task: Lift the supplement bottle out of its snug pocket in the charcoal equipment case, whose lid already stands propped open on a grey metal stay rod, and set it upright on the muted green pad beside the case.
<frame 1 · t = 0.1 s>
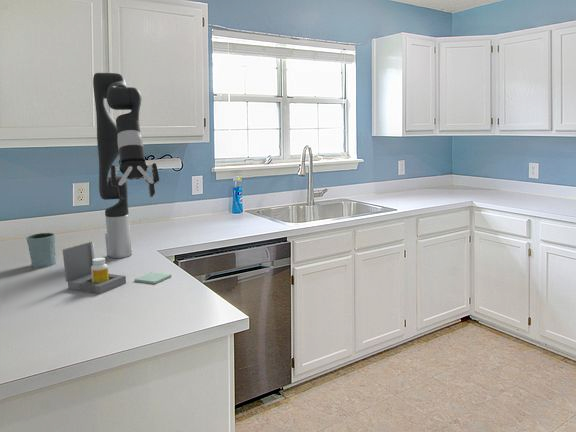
hand: (137, 197, 152), 31 cm above the worktop, tool tilted 20°, fingers open, 8 cm apart
supplement bottle: (101, 287, 167), resting in equipment case
teal cup: (44, 265, 196), on the worktop
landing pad: (153, 278, 174), on the worktop
equipment case: (97, 285, 168), on the worktop
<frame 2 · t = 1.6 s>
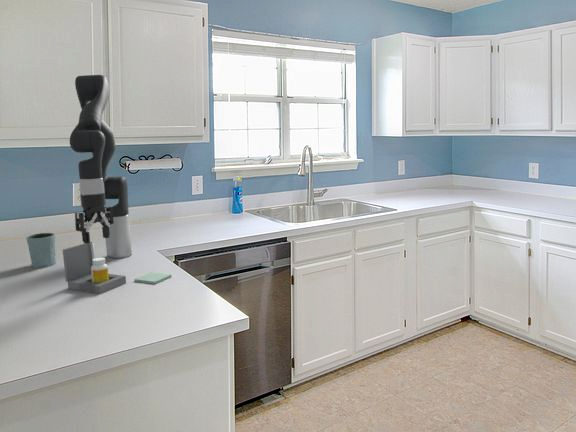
hand: (96, 240, 164), 16 cm above the worktop, tool pointing down, fingers open, 8 cm apart
nothing on the worktop moved.
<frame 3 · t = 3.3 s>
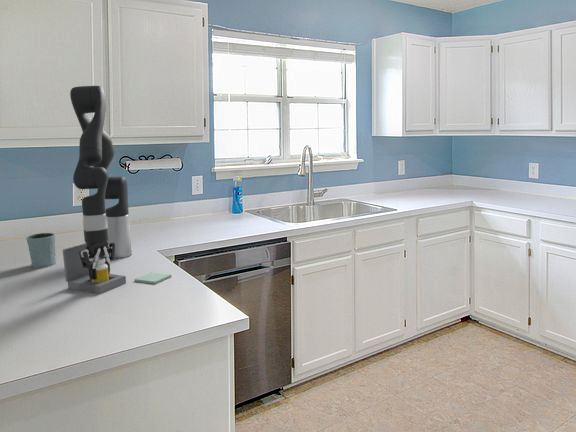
hand: (100, 276, 167), 4 cm above the worktop, tool pointing down, fingers closed on supplement bottle, 5 cm apart
supplement bottle: (101, 286, 167), resting in equipment case, touching gripper
everything else where it was.
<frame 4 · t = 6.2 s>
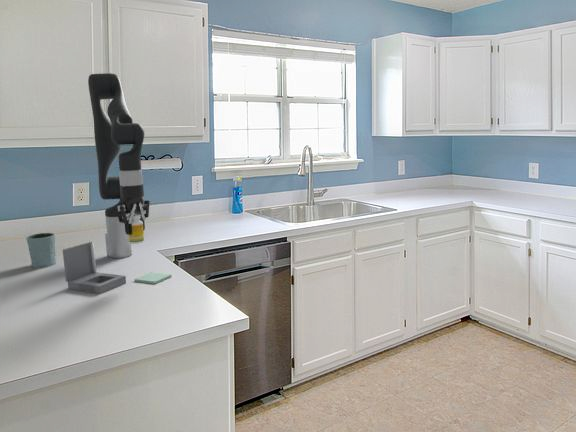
hand: (135, 232, 169), 17 cm above the worktop, tool pointing down, fingers closed on supplement bottle, 5 cm apart
supplement bottle: (136, 242, 170), point 14 cm above the worktop, touching gripper
everything else where it was.
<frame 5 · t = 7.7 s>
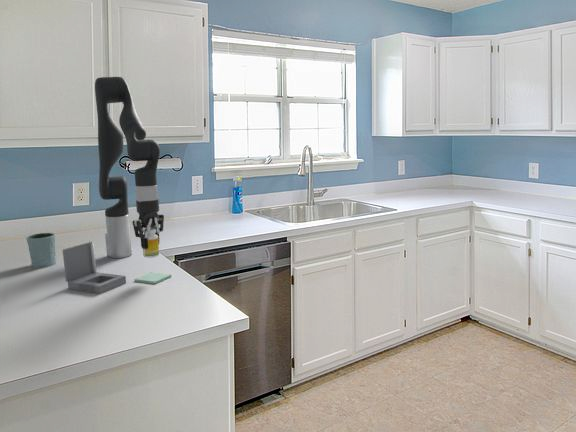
hand: (150, 246, 172), 12 cm above the worktop, tool pointing down, fingers closed on supplement bottle, 5 cm apart
supplement bottle: (151, 256, 173), point 8 cm above the worktop, touching gripper
everything else where it was.
when the fingers open (6 cm above the worktop, at t = 9.2 s): supplement bottle drops 1 cm, resting on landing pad.
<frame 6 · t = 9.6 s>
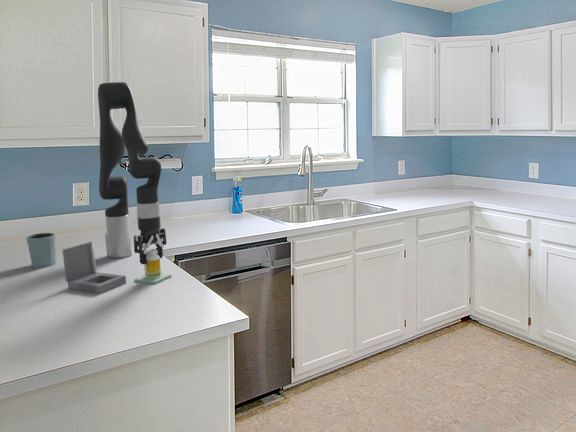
hand: (151, 260, 173), 7 cm above the worktop, tool pointing down, fingers open, 8 cm apart
supplement bottle: (153, 277, 175), point 1 cm above the worktop, touching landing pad
everything else where it was.
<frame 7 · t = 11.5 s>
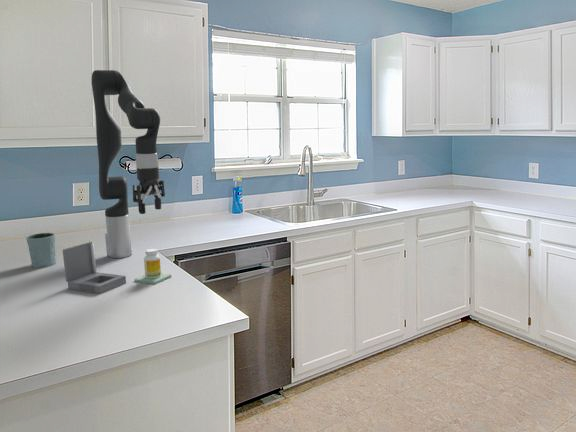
hand: (150, 211, 177), 23 cm above the worktop, tool pointing down, fingers open, 8 cm apart
nothing on the worktop moved.
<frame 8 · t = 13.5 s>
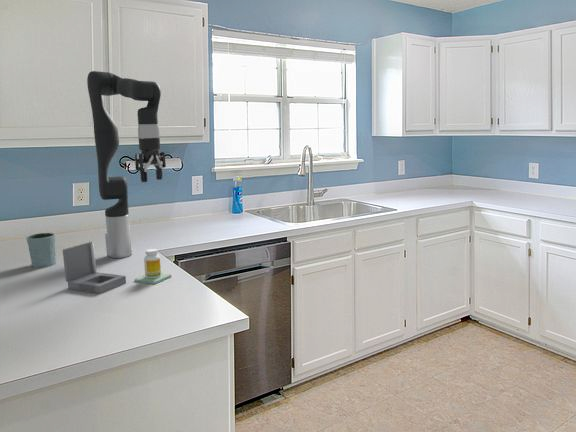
hand: (152, 180, 185), 33 cm above the worktop, tool pointing down, fingers open, 8 cm apart
nothing on the worktop moved.
at the end: supplement bottle 0.2 cm off-centre on the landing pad, point 0.6 cm above the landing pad's base; supplement bottle tilted 0°; the gripper is holding nothing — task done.
